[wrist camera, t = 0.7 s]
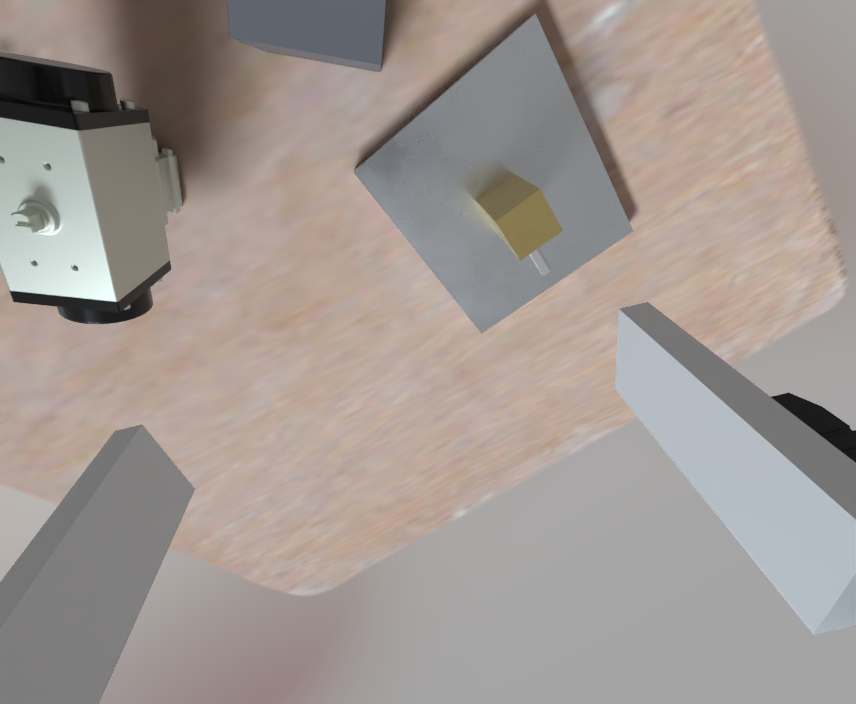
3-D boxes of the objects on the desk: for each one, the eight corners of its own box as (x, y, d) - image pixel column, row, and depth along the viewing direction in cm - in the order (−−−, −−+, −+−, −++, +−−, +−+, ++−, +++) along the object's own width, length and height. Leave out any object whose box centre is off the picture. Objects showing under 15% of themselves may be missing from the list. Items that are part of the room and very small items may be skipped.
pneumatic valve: (180, 79, 25) (45, 69, 15) (201, 264, 31) (114, 348, 21) (76, 58, 24) (-148, 31, 14) (118, 254, 30) (-16, 337, 20)
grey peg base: (354, 169, 28) (348, 189, 22) (529, 16, 25) (578, -9, 19) (478, 326, 36) (499, 373, 30) (625, 226, 33) (682, 257, 26)
